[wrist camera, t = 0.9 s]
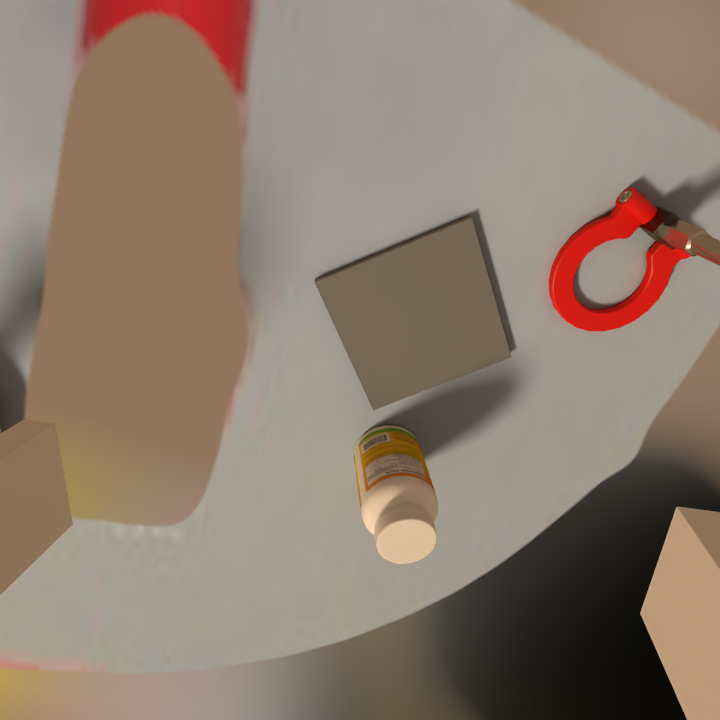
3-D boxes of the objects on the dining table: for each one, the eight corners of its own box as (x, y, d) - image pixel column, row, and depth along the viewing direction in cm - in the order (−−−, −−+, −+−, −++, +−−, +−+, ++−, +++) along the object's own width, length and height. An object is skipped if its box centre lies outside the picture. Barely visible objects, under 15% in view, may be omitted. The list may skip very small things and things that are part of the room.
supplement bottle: (403, 483, 44) (427, 578, 35) (343, 468, 42) (353, 563, 34) (429, 432, 42) (462, 521, 33) (367, 415, 40) (384, 502, 32)
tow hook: (601, 344, 40) (698, 245, 36) (710, 451, 29) (865, 322, 25) (522, 288, 37) (618, 175, 34) (608, 381, 26) (766, 227, 22)
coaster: (314, 279, 35) (314, 282, 34) (469, 215, 34) (471, 217, 33) (372, 405, 40) (373, 410, 39) (508, 353, 39) (511, 356, 38)
